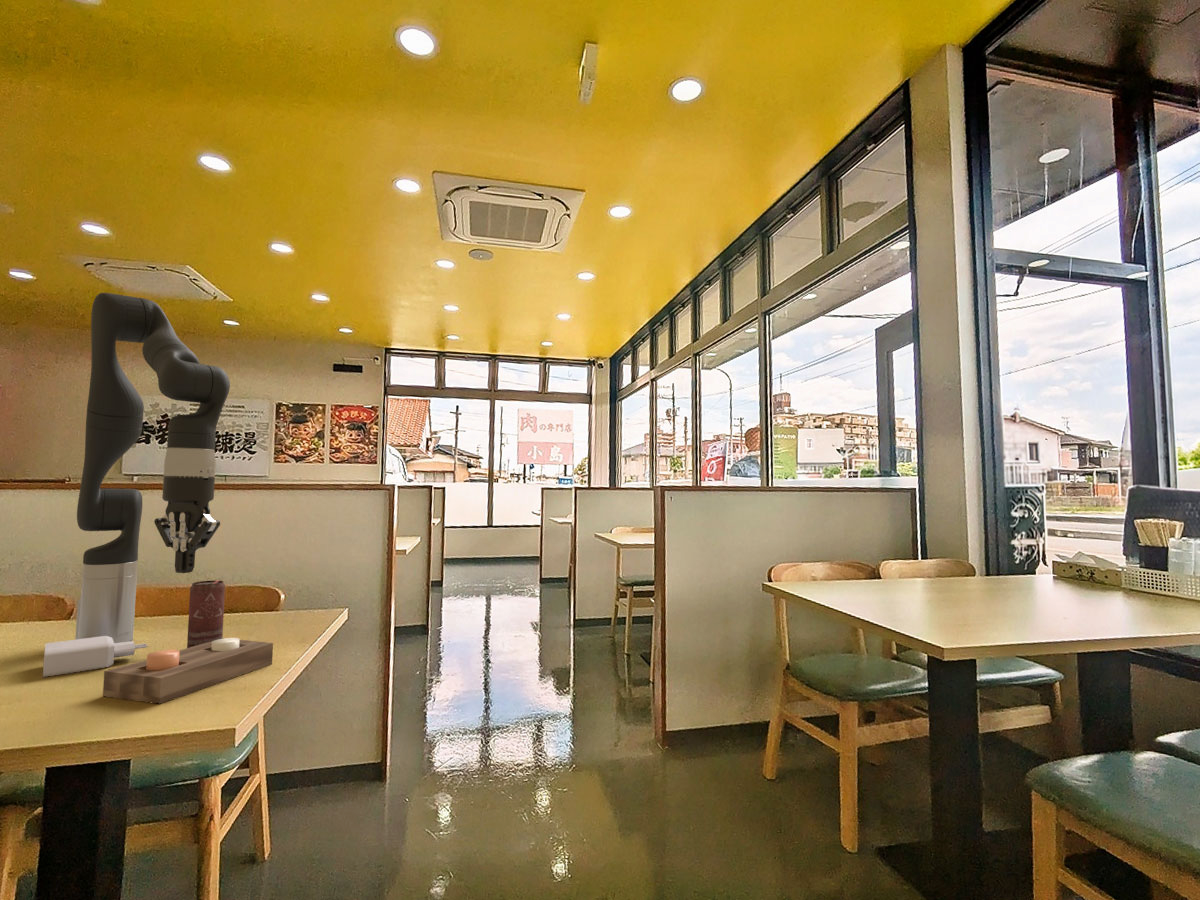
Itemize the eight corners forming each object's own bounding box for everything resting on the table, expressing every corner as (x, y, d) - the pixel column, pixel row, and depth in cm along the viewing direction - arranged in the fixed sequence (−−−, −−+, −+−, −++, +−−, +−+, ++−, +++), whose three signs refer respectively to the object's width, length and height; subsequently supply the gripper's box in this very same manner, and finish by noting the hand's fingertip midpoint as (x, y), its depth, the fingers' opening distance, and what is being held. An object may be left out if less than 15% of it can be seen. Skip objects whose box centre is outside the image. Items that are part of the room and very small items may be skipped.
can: (229, 646, 126) (233, 579, 127) (207, 654, 119) (210, 584, 120) (203, 645, 126) (206, 579, 127) (179, 653, 120) (183, 583, 121)
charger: (148, 663, 114) (42, 679, 104) (143, 653, 121) (43, 667, 111) (150, 638, 114) (44, 652, 104) (145, 629, 121) (45, 641, 111)
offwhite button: (204, 664, 109) (205, 642, 109) (225, 658, 113) (226, 637, 113) (223, 667, 108) (224, 644, 108) (244, 660, 112) (245, 638, 112)
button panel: (102, 696, 95) (104, 671, 96) (222, 658, 117) (223, 638, 117) (159, 704, 92) (160, 678, 92) (272, 664, 113) (273, 642, 114)
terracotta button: (138, 680, 97) (140, 655, 97) (164, 672, 101) (166, 648, 102) (159, 682, 96) (160, 657, 96) (184, 674, 100) (186, 650, 101)
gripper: (140, 473, 103) (134, 573, 102) (198, 474, 100) (193, 578, 99) (181, 474, 110) (176, 567, 110) (237, 475, 107) (232, 571, 106)
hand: (184, 572), depth 104 cm, fingers closed
